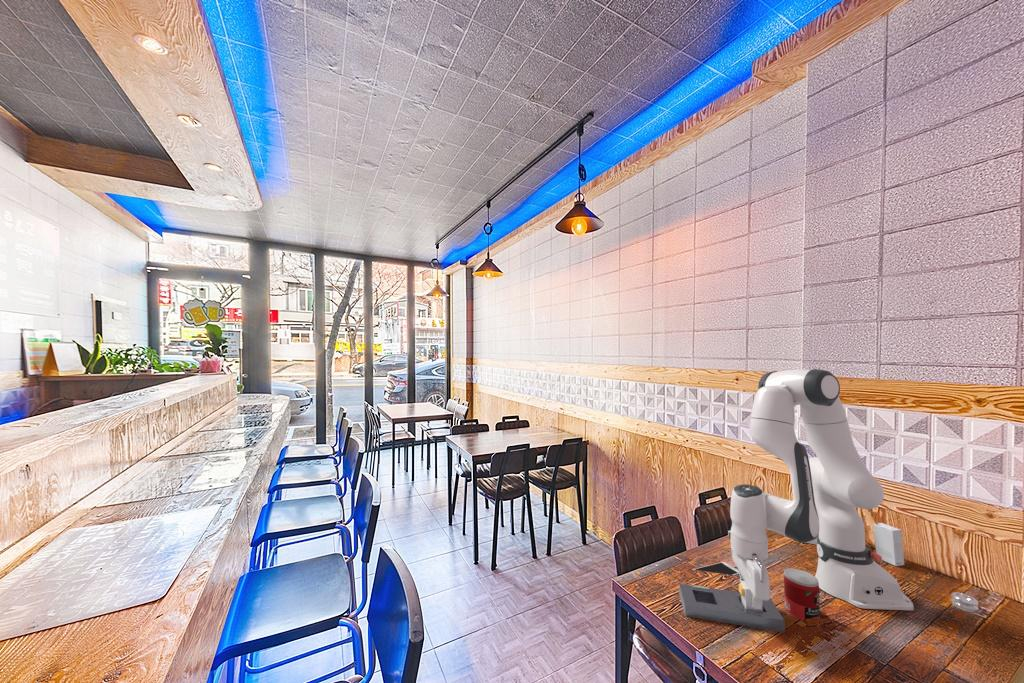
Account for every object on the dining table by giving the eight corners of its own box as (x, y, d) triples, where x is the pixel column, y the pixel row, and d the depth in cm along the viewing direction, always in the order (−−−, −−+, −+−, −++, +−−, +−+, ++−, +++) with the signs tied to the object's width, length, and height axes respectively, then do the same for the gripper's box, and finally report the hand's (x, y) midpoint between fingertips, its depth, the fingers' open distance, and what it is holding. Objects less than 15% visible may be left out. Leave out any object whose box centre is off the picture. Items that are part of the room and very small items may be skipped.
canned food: (811, 629, 100) (810, 587, 100) (779, 611, 107) (777, 572, 107) (826, 620, 103) (824, 579, 104) (793, 603, 111) (792, 565, 111)
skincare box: (905, 565, 130) (903, 529, 130) (895, 566, 129) (893, 531, 129) (884, 556, 136) (882, 522, 136) (874, 557, 135) (873, 523, 135)
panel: (769, 610, 107) (769, 595, 108) (785, 635, 98) (784, 619, 98) (679, 597, 114) (679, 582, 114) (685, 619, 104) (685, 604, 104)
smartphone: (689, 572, 127) (689, 569, 127) (724, 563, 132) (724, 561, 132) (706, 584, 121) (706, 581, 121) (742, 575, 126) (742, 572, 126)
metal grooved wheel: (947, 603, 110) (972, 614, 105) (946, 592, 110) (971, 603, 106) (958, 600, 112) (983, 611, 107) (957, 590, 112) (982, 600, 107)
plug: (757, 611, 106) (756, 582, 106) (763, 621, 102) (762, 591, 102) (738, 608, 107) (737, 580, 107) (743, 618, 103) (742, 588, 103)
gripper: (777, 567, 94) (778, 624, 94) (749, 531, 114) (750, 577, 113) (748, 564, 96) (750, 619, 95) (726, 528, 116) (727, 574, 115)
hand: (750, 596), depth 105 cm, fingers open, 8 cm apart
